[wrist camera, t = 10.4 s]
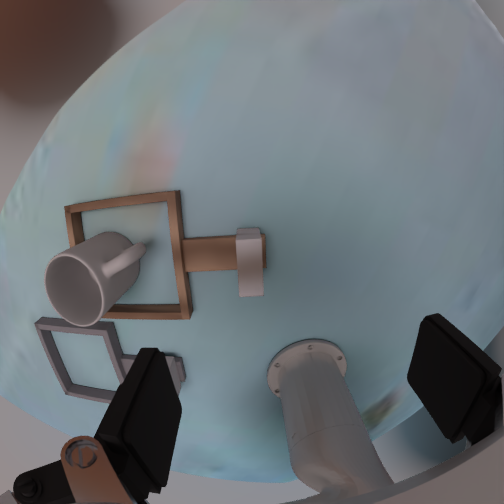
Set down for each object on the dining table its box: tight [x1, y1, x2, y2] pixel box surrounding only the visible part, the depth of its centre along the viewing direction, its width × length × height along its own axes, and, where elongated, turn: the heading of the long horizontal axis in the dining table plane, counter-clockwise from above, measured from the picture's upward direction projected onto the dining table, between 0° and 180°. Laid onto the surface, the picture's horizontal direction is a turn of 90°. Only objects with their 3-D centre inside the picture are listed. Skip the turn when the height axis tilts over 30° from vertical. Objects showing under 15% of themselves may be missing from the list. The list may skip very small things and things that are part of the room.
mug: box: [44, 232, 146, 327], centre depth 29 cm, size 12×8×11 cm
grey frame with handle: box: [34, 317, 186, 404], centre depth 35 cm, size 16×26×7 cm, turn 93°
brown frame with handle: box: [64, 190, 266, 320], centre depth 31 cm, size 16×26×7 cm, turn 93°
